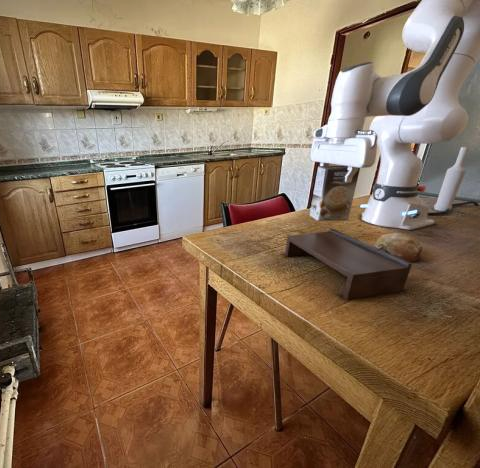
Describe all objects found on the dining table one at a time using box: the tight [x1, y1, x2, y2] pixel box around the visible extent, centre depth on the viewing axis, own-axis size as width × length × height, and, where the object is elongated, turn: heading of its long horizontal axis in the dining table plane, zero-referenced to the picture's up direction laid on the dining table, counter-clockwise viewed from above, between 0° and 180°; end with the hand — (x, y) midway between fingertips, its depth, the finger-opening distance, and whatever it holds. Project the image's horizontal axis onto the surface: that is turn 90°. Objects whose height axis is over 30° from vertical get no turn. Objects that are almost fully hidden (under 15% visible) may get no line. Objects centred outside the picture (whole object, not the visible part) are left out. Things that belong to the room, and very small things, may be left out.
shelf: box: [284, 228, 413, 300], centre depth 64 cm, size 14×22×7 cm, turn 10°
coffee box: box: [309, 165, 361, 222], centre depth 79 cm, size 9×6×16 cm
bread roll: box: [374, 232, 423, 263], centre depth 71 cm, size 10×10×8 cm
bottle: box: [433, 146, 470, 212], centre depth 103 cm, size 5×5×25 cm
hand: (335, 179), depth 78 cm, fingers closed on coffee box, 7 cm apart
